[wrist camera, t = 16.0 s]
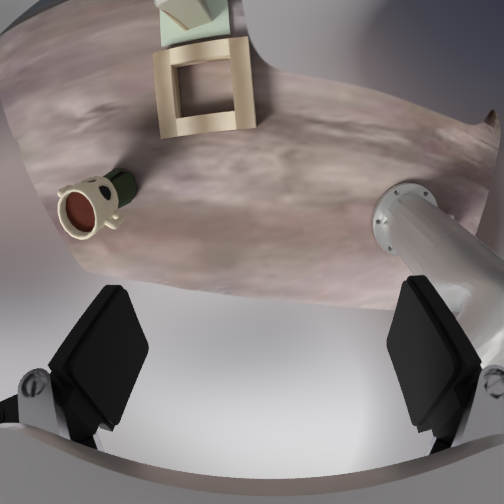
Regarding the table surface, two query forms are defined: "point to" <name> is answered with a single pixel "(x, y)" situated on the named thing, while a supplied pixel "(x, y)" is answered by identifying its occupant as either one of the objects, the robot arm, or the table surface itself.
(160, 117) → the holder block
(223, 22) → the sage mat
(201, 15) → the skincare box
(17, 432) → the robot arm
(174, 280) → the table surface
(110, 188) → the character mug
